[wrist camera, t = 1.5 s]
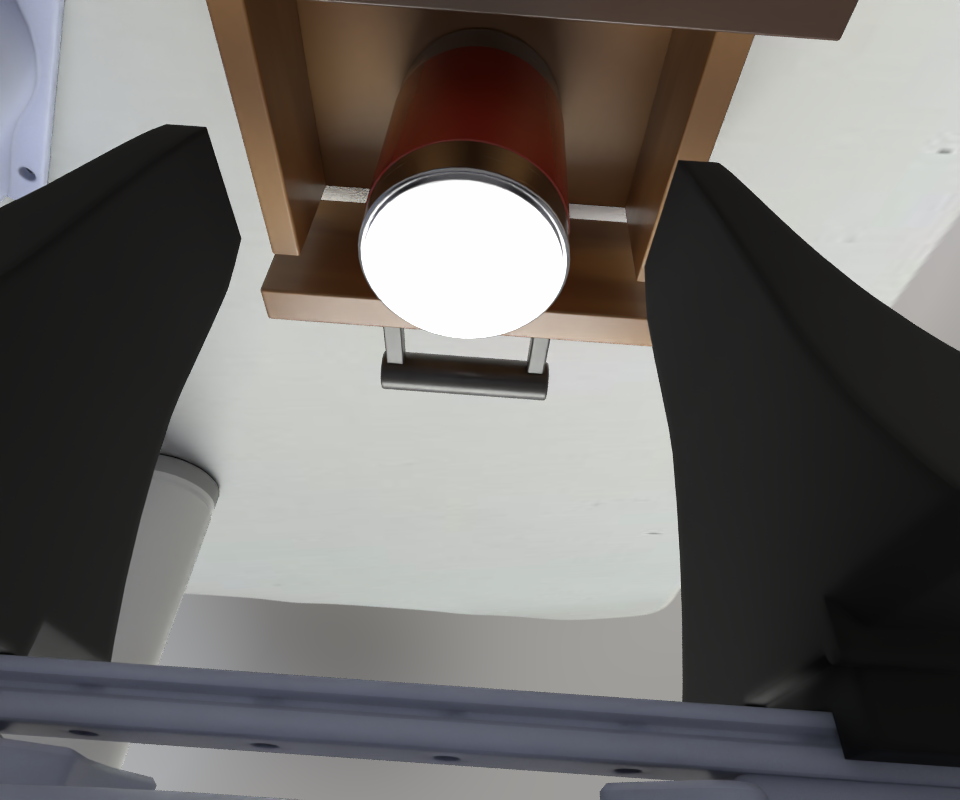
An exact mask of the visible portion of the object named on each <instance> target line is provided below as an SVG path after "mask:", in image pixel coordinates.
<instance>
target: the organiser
mask: <svg viewBox="0 0 960 800" xmlns="http://www.w3.org/2000/svg"><path fill="white" fill-rule="evenodd" d="M305 1H318V2H331V3H345V4H358V5H371V6H384V7H397V8H411V9H424V10H437V11H450V12H463V13H477V14H490V15H503V16H516V17H530V18H543V19H556V20H569V21H582V22H596V23H609V24H622V25H635V26H648V27H662V28H675V29H688V30H701V31H714V32H728V33H741V34H754V35H767V36H780V37H794V38H807V39H820V40H833V41H838V40H840V38H841V36H842V34H843V32H844V30H845V28H846V26H847V24H848V22H849V19H850V17H851V15H852V13H853V11H854V9H855V7H856V4H857V2H858V0H305Z"/></svg>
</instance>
